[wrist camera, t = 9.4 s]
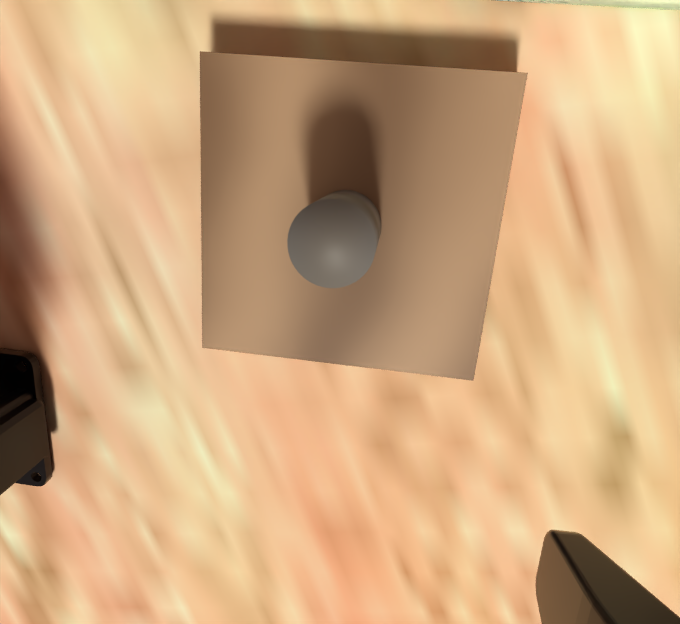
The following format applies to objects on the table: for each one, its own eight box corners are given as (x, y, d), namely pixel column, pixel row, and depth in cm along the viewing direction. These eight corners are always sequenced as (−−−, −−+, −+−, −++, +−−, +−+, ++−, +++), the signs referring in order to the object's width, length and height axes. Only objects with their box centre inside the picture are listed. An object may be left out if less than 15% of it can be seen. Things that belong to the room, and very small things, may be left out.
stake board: (216, 334, 20) (159, 389, 15) (216, 59, 17) (145, 24, 12) (468, 363, 19) (488, 432, 15) (516, 80, 16) (563, 49, 11)
